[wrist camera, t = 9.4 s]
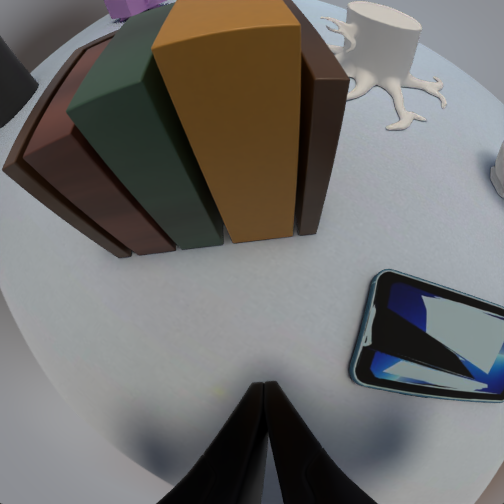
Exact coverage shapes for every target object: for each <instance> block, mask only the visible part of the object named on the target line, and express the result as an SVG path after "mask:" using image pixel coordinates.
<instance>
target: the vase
mask: <svg viewBox="0 0 504 504" xmlns="http://www.w3.org/2000/svg"><path fill="white" fill-rule="evenodd" d="M37 87H38V83H37V82H36V80H35V79H34V78H33V77H32V76H31V74H30V73H29V72H28V70H27V69H26V68H25V67H24V66H23V64H22V63H21V62H20V61H19V59H17V57H16V56H15V54H14V53H13V52H12V51H11V49H10V48H9V47H8V46H7V44H6V43H5V42H4V40H3V39H2V37H1V36H0V128H1V127H3V126H4V125H5V124H6V123H8V122H9V121H10V120H11V119H12V118H13V117H14V116H15V115H16V114H17V113H18V112H19V111H20V110H21V109H22V107H23V106H24V105H25V104H26V103H27V102H28V100H29V99H30V98H31V97H32V95H33V94H34V93H35V91H36V89H37Z"/></svg>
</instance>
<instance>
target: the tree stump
mask: <svg viewBox="0 0 504 504" xmlns="http://www.w3.org/2000/svg"><path fill="white" fill-rule="evenodd" d="M324 18H325V19H327V20H330V21H332V22H333V23H335V24H336V25H337V26H338V28H339V30H335V29H331V28H329V27H328V26H326V27H327V28H328V30H330V31H332V32H335V33H339V34H342V35H343V36H344V37H345V38H344V47H339V46H334V45H329V44H327V45H328V47H329V48H330V50H331V51H332V52H333V53H334V54H336V55H335V57H336V58H337V60H338V61H339V63H340V64H341V66H342V68H343V69H344V71H345V72H346V74H347V75H348V77H353V78H354V79H355V81H356V86H355V88H354V89H353V90H352V91H351V92H349V93H348V94H347V100H350V99H354V98H358V97H360V96H362V95H364V94H366V92H368V91H369V90H370V88H372V87H373V86H375V85H378V86H380V87H383V88H384V89H385V90H387V91H388V93H389V94H390V95H391V96H392V97H393V99H394V104H395V108H396V110H397V112H398V115H399V117H400V120H399V122H397V123H394V124H391V125H388V126H386V129H388V130H403V129H406V128H408V127H409V126H410V124H411V123H412V120H413V119H416V120H421V121H427V119H426V118H424V117H421V116H419V115H417V114H416V113H414V112H407V111H406V110H405V108H404V98H403V94H402V91H401V87H409V88H417V89H422V90H424V91H427V93H429V94H432V95H434V96H436V97H439V98H440V100H441V101H442V105H441V107H442V108H444V107H445V106H446V105H447V103H446V99H445V98H444V97H443V95H441V94H440V93H439V92H438V91H439V90H441V89H442V88H443V83H442V81H441V80H440V79H439V78H437V77H433V78H434V79H436V80H437V83H434V82H428V81H423V80H420V79H417V78H415V77H413V76H412V75H411V74H410V68H411V65H412V62H413V59H414V55H415V52H416V48H417V45H418V41H419V38H420V34H421V30H422V26H421V24H419V22H417V21H416V20H415V19H414V18H412V17H411V16H408V15H406V14H404V13H402V12H400V11H397V10H395V9H393V8H390V7H387V6H384V5H380V4H376V3H370V2H365V1H355V2H350V3H348V6H347V18H346V23H345V22H343V21H339V20H337V19H334V18H329V17H321V18H320V19H324ZM347 100H346V101H347Z"/></svg>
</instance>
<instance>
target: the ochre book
mask: <svg viewBox="0 0 504 504" xmlns="http://www.w3.org/2000/svg"><path fill="white" fill-rule="evenodd" d="M151 51H152V53H153V56H154V58H155V61H156V63H157V65H158V68H159V70H160V73H161V75H162V78H163V80H164V83H165V85H166V87H167V90H168V92H169V95H170V97H171V100H172V102H173V104H174V107H175V109H176V112H177V114H178V116H179V119H180V121H181V124H182V126H183V128H184V131H185V133H186V135H187V138H188V140H189V142H190V145H191V147H192V150H193V152H194V154H195V157H196V159H197V161H198V164H199V166H200V168H201V171H202V173H203V175H204V178H205V180H206V182H207V185H208V187H209V189H210V192H211V194H212V196H213V198H214V201H215V203H216V205H217V208H218V210H219V212H220V215H221V217H222V219H223V221H224V224H225V226H226V228H227V231H228V233H229V235H230V237H231V240H232V242H233V243H240V242H248V241H256V240H265V239H273V238H282V237H290V236H293V227H294V214H295V200H296V185H297V169H298V150H299V128H300V98H301V24H300V23H299V21H298V20H297V19H296V17H295V16H294V14H293V13H292V12H291V10H290V9H289V8H288V7H287V5H286V4H285V3H284V1H283V0H177V1H176V2H175V4H174V6H173V7H172V9H171V11H170V13H169V14H168V16H167V18H166V20H165V22H164V23H163V25H162V27H161V29H160V31H159V33H158V35H157V37H156V39H155V41H154V43H153V45H152V47H151Z"/></svg>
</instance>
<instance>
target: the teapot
mask: <svg viewBox="0 0 504 504" xmlns="http://www.w3.org/2000/svg"><path fill="white" fill-rule="evenodd" d="M164 1H166V0H104V2H105V4H106V7H107V9H108V11H109V14H110V16H111V18H112V19H115V18H121V20H120V21H124V20H126V19H128V18H129V17H131V16H134V15H137V14H139V13H141V12H143V11H145V10H147V9H149V8H150V9H154V8H158V7H161V6H160V5H158V4H160V3H162V2H164Z"/></svg>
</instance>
